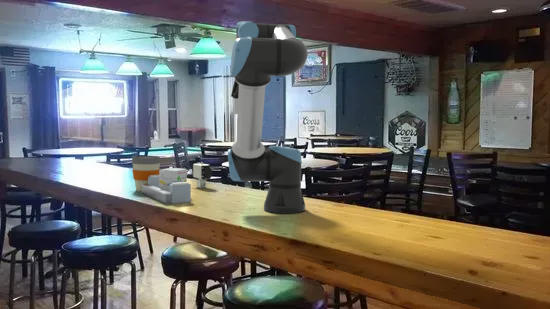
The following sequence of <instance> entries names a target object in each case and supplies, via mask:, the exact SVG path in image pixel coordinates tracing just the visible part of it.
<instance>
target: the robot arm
mask: <svg viewBox="0 0 550 309" xmlns="http://www.w3.org/2000/svg"><path fill="white" fill-rule="evenodd" d="M235 32H236V34H235V35H236V36H235V40H234V43H233V47H232V52H231V57H230V69H229V72H230V75H231V76H234V81H233V86H232V89H231V94H230V97H231V98H233V115H237V123H236V126H237V127H236V140H235V142H233V144H232V146H231V148H229V149H228V150H227V160H228V171H229V176H230V179H231V180H232V181H233V182H242V183H244V182H268V190H267V193H266V196H265V200H264V203H263V210H264V211H266V212H269V213H273V214H274V213H275V214H298V213H303V212H305V211H306V203H305V199H304V196H303V192H302V189H301V187H302V163H303V162H302V161H303V160H302V153H301V151H300V150H299V149H298V148H294V147H288V146H280V145H269V147H268V149H266V147H265V145H264V144H263V142H262V135H263V121H264V120H263V119H264V110H265V108H264V107H265V95H266V87H267V85H269V84H270V83H271V78H272V77H286V76H289V75H290V76H291V75H292V74H294V73H296V72H298V71H299V70H300V69H302V68H303V67H304V66H305V64H306V62H307V60H308V48H307V46H306V45H305V43H304V42H303V41H302V40H301V39H299V38H297V30H296V26H295V25H293V24H281V23H280V24H279V23H277V24H276V23H275V24H274V23H255V22H253V21H248V20H247V21H246V20H245V21H243V20H242V21H238V22H237V23H236V29H235ZM304 210H305V211H304ZM302 211H303V212H302Z"/></svg>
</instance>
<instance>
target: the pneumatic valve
mask: <svg viewBox="0 0 550 309" xmlns="http://www.w3.org/2000/svg"><path fill="white" fill-rule="evenodd" d="M191 172H192V177H193V178H196V179H197V180H196V188H199V189H202V188H207V180H206V179H211V178H212V176H213V169H212V165H211V164H206V163H203V162H202V161H201V162H200V163H193V164H192V168H191Z"/></svg>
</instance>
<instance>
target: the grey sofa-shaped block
mask: <svg viewBox="0 0 550 309" xmlns="http://www.w3.org/2000/svg"><path fill="white" fill-rule="evenodd" d="M148 184H150V185H153V186H155V187H158V188H159V175H150V177H148ZM191 185H192V184H191V183H189V182H188V181H187V182H176V183H171V184H169V192H170V193H172V203H171V204H181V203H191V201H192V200H191V199H192V198H191V196H192V195H191V193H192V192H191V191H192V190H191Z"/></svg>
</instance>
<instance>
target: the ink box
mask: <svg viewBox="0 0 550 309" xmlns="http://www.w3.org/2000/svg"><path fill="white" fill-rule="evenodd" d="M187 172H188V169H187V168H179V167H172V168H171V167H169V168H163V169H160V170H159V188H160V189H163V190H165V191H168V192H169V184H171V183H176V182H188V173H187Z"/></svg>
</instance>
